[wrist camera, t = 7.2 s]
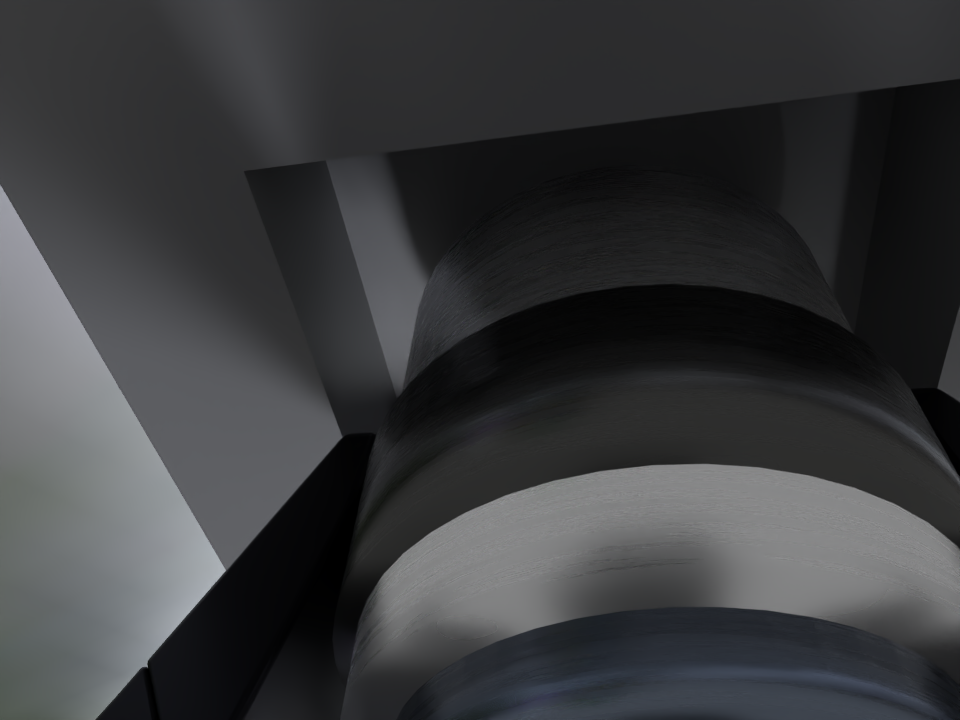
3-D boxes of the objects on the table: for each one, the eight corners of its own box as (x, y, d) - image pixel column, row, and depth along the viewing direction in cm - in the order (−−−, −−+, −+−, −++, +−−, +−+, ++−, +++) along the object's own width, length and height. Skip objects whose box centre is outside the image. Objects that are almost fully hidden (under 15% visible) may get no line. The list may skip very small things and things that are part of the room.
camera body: (912, 533, 17) (1000, 721, 14) (359, 564, 18) (324, 738, 15) (1258, -667, 7) (1884, -990, 4) (-21, -363, 8) (-344, -407, 5)
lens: (818, 485, 12) (1012, 1003, 7) (441, 509, 12) (387, 992, 8) (879, 116, 8) (1349, 658, 3) (350, 180, 9) (149, 698, 4)
